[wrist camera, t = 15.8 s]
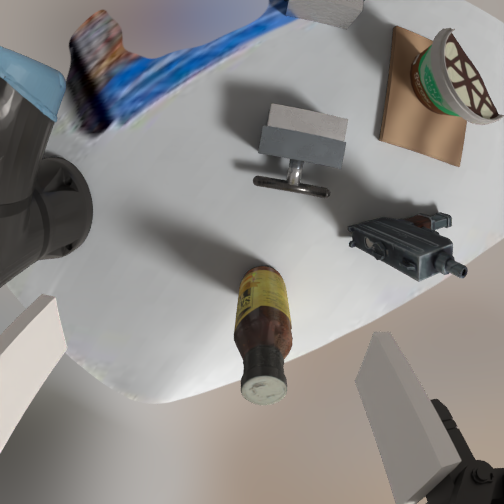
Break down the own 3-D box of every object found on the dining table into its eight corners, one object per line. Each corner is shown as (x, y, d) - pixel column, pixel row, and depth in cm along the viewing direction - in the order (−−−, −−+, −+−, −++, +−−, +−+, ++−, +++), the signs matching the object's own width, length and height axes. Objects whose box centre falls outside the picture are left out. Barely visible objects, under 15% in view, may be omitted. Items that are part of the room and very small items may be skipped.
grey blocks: (252, 181, 38) (251, 190, 32) (286, -16, 29) (291, -41, 22) (324, 194, 39) (337, 205, 32) (354, -1, 29) (369, -22, 22)
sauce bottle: (242, 261, 42) (229, 356, 23) (288, 266, 42) (308, 362, 24) (238, 303, 44) (225, 408, 26) (281, 308, 44) (292, 413, 26)
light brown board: (378, 140, 36) (382, 140, 35) (393, 28, 30) (396, 25, 29) (455, 166, 36) (459, 166, 35) (467, 62, 30) (471, 61, 29)
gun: (514, 255, 26) (437, 298, 24) (427, 222, 42) (348, 246, 39) (517, 233, 25) (439, 271, 23) (427, 205, 41) (346, 227, 39)
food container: (383, 62, 31) (418, 43, 22) (413, 44, 30) (452, 24, 20) (434, 140, 34) (478, 144, 25) (461, 119, 33) (506, 120, 23)
